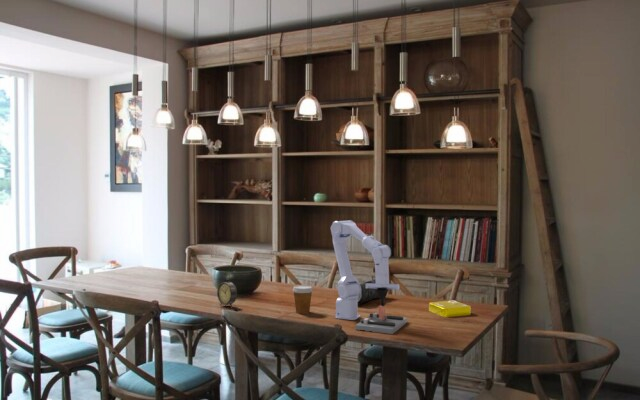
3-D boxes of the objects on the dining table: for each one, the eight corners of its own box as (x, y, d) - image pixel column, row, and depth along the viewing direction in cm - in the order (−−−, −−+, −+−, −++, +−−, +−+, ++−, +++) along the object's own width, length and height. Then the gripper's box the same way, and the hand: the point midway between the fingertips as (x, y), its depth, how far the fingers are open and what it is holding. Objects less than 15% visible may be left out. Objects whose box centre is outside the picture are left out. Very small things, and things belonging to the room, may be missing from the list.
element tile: (427, 311, 277) (427, 301, 277) (453, 309, 282) (454, 299, 282) (444, 318, 263) (444, 307, 263) (472, 315, 268) (472, 305, 268)
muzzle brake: (387, 298, 307) (387, 278, 307) (361, 307, 284) (362, 286, 283) (371, 296, 312) (371, 276, 312) (345, 305, 289) (345, 284, 288)
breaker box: (355, 329, 240) (355, 320, 240) (372, 318, 260) (372, 309, 260) (392, 334, 233) (392, 324, 233) (407, 322, 253) (407, 313, 253)
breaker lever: (378, 321, 244) (378, 306, 244) (382, 318, 249) (382, 303, 249) (381, 321, 244) (381, 306, 244) (385, 319, 248) (385, 303, 248)
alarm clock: (216, 305, 286) (216, 272, 285) (225, 303, 290) (225, 271, 289) (230, 308, 278) (230, 275, 278) (239, 307, 282) (239, 274, 282)
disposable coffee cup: (289, 311, 274) (289, 285, 274) (308, 309, 278) (308, 284, 278) (296, 315, 266) (296, 289, 265) (315, 313, 269) (316, 287, 269)
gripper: (362, 274, 245) (363, 306, 245) (395, 275, 239) (396, 308, 239) (368, 272, 252) (369, 303, 252) (400, 273, 246) (401, 305, 246)
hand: (382, 305), depth 246 cm, fingers closed, pressing on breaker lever
